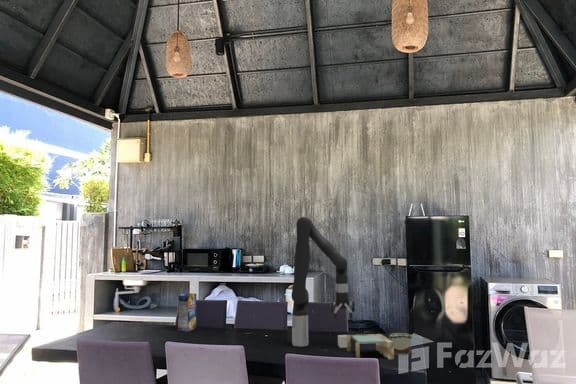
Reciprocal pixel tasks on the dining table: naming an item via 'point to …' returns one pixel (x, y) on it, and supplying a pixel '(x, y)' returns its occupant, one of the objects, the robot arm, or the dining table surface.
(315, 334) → the dining table surface
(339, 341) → the beige block
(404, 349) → the food container
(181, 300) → the juice carton
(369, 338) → the trapdoor
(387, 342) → the trapdoor frame
